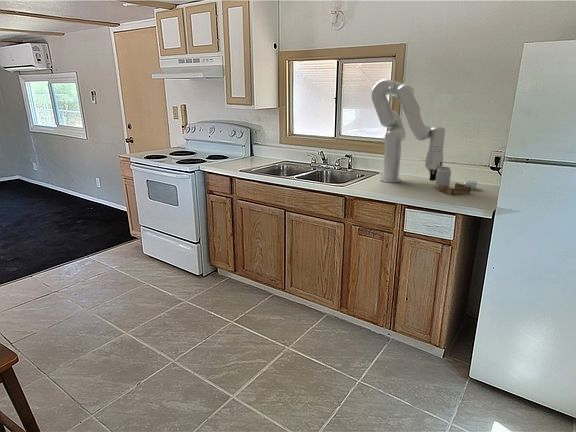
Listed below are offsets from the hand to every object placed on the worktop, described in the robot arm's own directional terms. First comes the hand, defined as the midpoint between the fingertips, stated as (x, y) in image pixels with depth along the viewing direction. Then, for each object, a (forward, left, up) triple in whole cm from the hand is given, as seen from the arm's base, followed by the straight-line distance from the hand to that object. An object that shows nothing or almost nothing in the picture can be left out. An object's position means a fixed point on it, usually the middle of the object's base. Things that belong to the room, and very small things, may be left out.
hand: (432, 180), depth 230 cm
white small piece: (+15, +13, -3) cm, 20 cm away
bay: (+17, 0, -3) cm, 18 cm away
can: (+8, 0, -3) cm, 9 cm away
